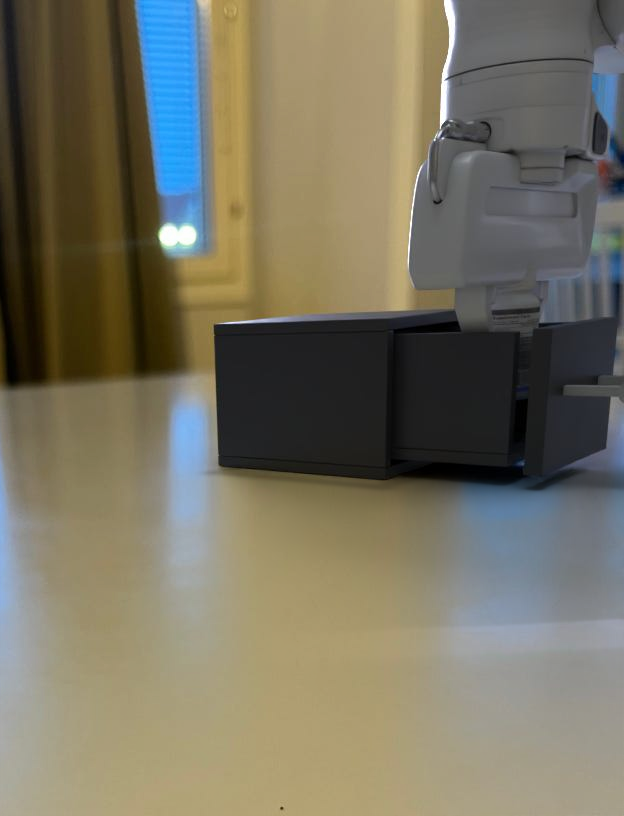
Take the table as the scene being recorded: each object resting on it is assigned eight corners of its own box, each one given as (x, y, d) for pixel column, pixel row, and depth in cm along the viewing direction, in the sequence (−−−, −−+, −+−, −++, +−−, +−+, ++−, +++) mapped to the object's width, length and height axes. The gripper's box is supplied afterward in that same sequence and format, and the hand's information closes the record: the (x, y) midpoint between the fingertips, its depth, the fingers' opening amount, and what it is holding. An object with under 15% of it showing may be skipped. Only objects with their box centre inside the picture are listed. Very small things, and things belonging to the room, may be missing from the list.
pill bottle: (452, 396, 70) (458, 269, 67) (520, 392, 70) (528, 265, 67) (471, 403, 65) (478, 268, 63) (543, 399, 65) (554, 263, 62)
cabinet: (467, 451, 77) (474, 307, 73) (384, 479, 68) (388, 318, 64) (307, 442, 86) (307, 314, 83) (217, 465, 77) (212, 324, 74)
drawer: (679, 452, 66) (696, 314, 63) (621, 482, 58) (637, 326, 55) (427, 439, 78) (431, 322, 75) (351, 462, 70) (352, 332, 67)
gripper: (489, 105, 53) (476, 372, 57) (620, 131, 67) (601, 344, 71) (383, 124, 57) (379, 371, 61) (528, 145, 71) (515, 345, 75)
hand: (499, 357), depth 67 cm, fingers closed on pill bottle, 5 cm apart
